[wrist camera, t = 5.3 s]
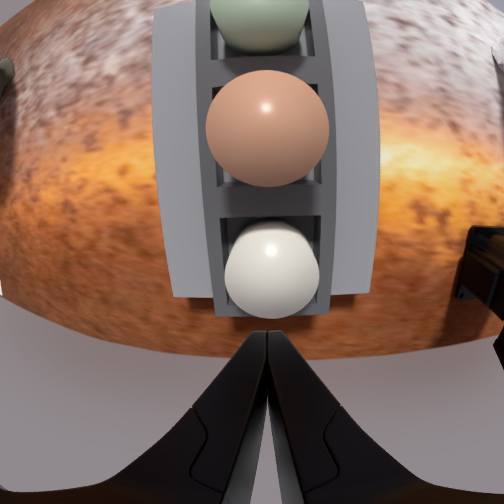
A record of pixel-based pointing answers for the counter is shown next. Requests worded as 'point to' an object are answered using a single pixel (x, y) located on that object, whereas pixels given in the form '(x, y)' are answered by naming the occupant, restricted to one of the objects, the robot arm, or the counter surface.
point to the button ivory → (271, 269)
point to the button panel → (256, 197)
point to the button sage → (260, 24)
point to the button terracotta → (267, 128)
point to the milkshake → (499, 53)
